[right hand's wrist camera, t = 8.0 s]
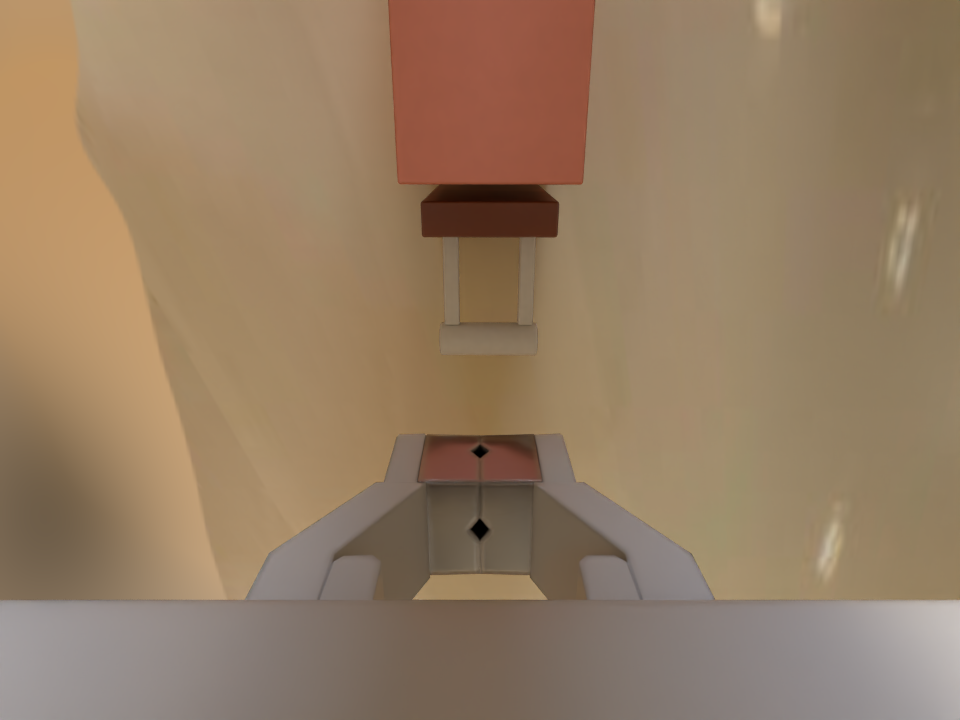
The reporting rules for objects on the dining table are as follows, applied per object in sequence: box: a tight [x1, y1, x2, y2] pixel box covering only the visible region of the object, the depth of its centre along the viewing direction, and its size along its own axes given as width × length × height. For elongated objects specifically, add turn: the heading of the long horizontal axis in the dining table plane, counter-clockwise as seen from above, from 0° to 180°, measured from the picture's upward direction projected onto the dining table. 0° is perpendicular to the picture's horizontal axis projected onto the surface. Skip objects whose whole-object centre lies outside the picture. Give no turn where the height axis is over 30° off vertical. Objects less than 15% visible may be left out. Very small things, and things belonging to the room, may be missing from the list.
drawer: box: [421, 184, 559, 355], centre depth 20 cm, size 23×5×8 cm, turn 0°
